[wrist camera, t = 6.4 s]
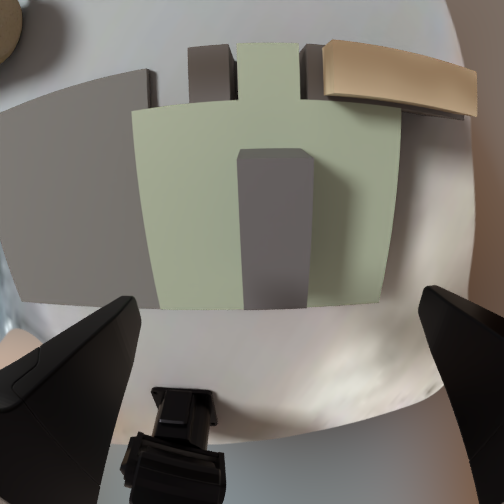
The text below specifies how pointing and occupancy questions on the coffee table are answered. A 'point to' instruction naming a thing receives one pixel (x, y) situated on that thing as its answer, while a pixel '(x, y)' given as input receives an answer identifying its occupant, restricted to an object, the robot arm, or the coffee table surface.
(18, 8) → the ceramic mug
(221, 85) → the toolbox
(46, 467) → the robot arm
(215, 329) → the coffee table surface
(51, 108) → the rubber mat
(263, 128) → the toolbox lid
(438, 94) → the wooden block
